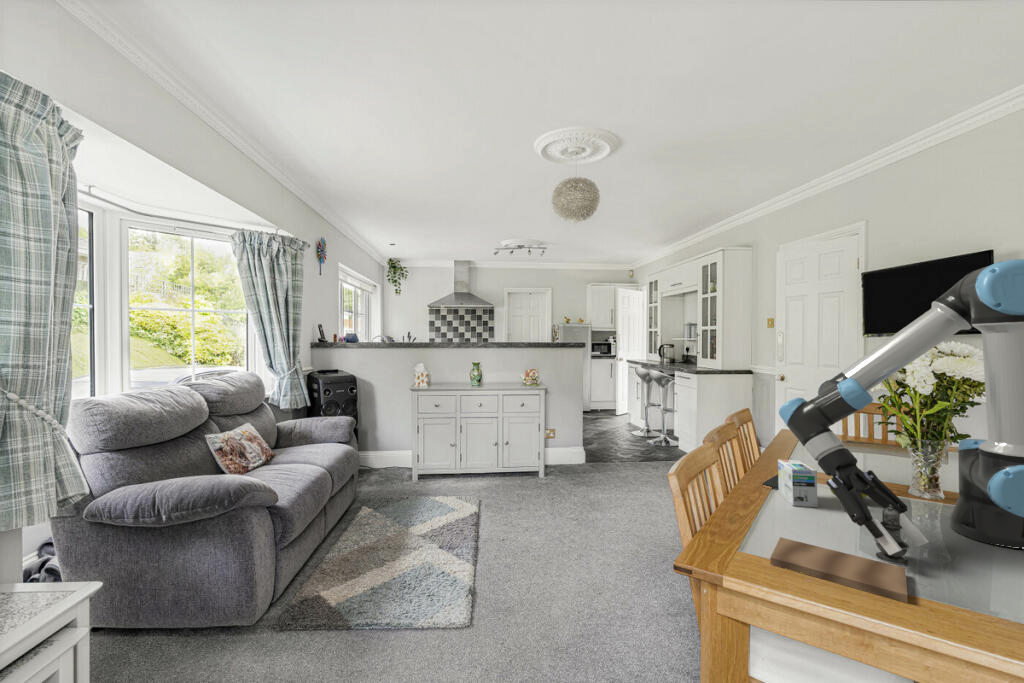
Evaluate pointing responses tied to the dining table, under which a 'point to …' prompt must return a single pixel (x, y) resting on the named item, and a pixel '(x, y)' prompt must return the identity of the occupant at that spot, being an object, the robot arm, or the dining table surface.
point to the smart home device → (772, 483)
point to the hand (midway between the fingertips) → (909, 548)
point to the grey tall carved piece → (893, 528)
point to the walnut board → (842, 568)
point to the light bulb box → (797, 483)
